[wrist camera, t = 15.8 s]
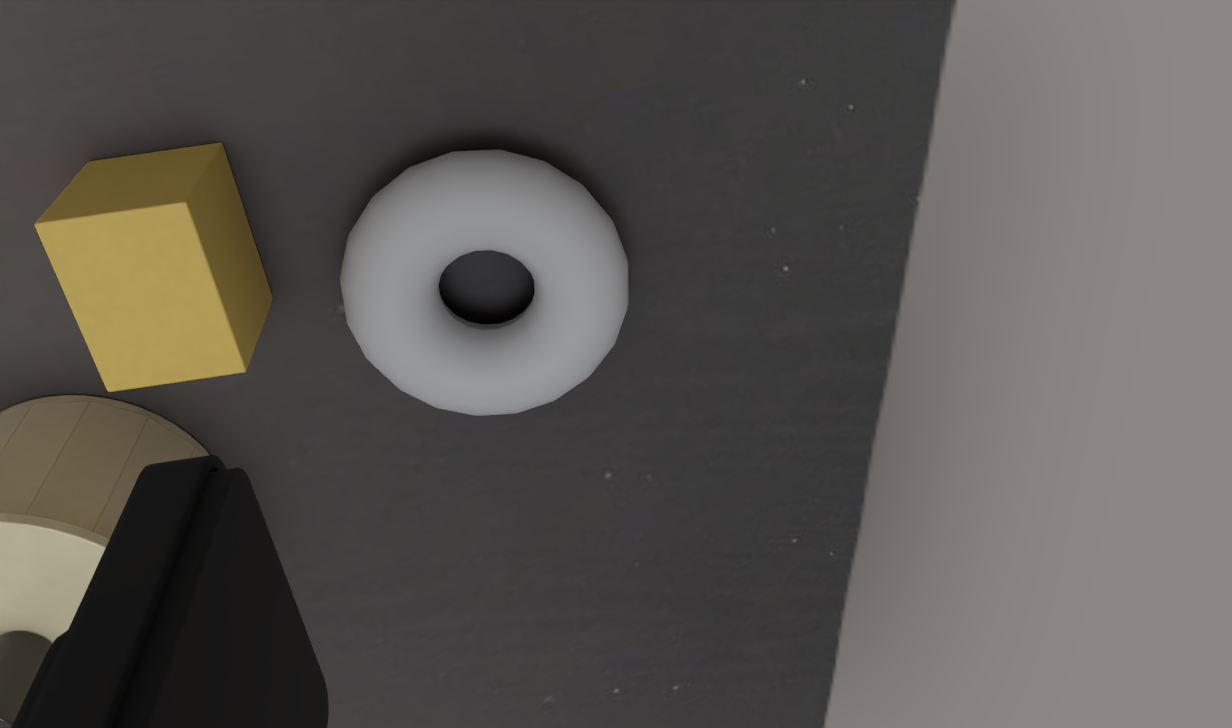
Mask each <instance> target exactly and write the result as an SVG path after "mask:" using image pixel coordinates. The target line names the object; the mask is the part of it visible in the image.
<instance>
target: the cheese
mask: <svg viewBox="0 0 1232 728" xmlns="http://www.w3.org/2000/svg"><path fill="white" fill-rule="evenodd" d="M35 227H36V230H37V232H38V234H39V236H40V239H41V241H42V243H43V246H44V248H45V250H46V252H47V255H48V257H49V259H50V261H51V264H52V266H53V268H54V271H55V273H56V275H57V277H58V280H59V282H60V284H61V287H62V289H63V291H64V293H65V296H66V298H67V300H68V302H69V305H70V307H71V309H72V312H73V314H74V316H75V318H76V321H77V323H78V325H79V327H80V330H81V332H82V334H83V337H84V339H85V341H86V343H87V346H88V348H89V350H90V352H91V355H92V357H93V359H94V362H95V364H96V366H97V368H98V371H99V373H100V375H101V378H102V380H103V382H104V384H105V387H106V389H107V391H108V392H113V391H120V390H127V389H134V388H141V387H148V386H154V385H161V384H168V383H175V382H182V381H188V380H195V379H202V378H209V377H216V376H222V375H229V374H236V373H243V372H246V370H247V368H248V365H249V362H250V359H251V357H252V354H253V351H254V349H255V346H256V343H257V341H258V338H259V335H260V333H261V330H262V327H263V324H264V322H265V319H266V316H267V314H268V311H269V308H270V306H271V303H272V300H273V297H272V294H271V291H270V288H269V285H268V282H267V279H266V275H265V272H264V269H263V266H262V263H261V260H260V257H259V254H258V251H257V248H256V245H255V242H254V239H253V235H252V232H251V229H250V226H249V223H248V220H247V217H246V214H245V211H244V208H243V205H242V202H241V199H240V195H239V192H238V189H237V186H236V183H235V180H234V177H233V174H232V171H231V168H230V165H229V162H228V159H227V155H226V152H225V149H224V146H223V144H222V143H213V144H206V145H199V146H192V147H185V148H178V149H171V150H164V151H157V152H151V153H144V154H137V155H130V156H123V157H116V158H109V159H102V160H95V161H89V162H87V163H86V165H85V166H84V167H83V168H82V169H81V170H80V172H79V173H78V174H77V175H76V176H75V177H74V179H73V180H72V181H71V182H70V183H69V184H68V186H67V187H66V188H65V189H64V190H63V191H62V193H61V194H60V195H59V196H58V197H57V198H56V199H55V201H54V202H53V203H52V204H51V205H50V206H49V208H48V209H47V210H46V211H45V212H44V213H43V215H42V216H41V217H40V218H39V219H38V220H37V222H36V223H35Z"/></svg>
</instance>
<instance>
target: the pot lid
mask: <svg viewBox="0 0 1232 728" xmlns="http://www.w3.org/2000/svg"><path fill="white" fill-rule="evenodd" d="M109 539H110V538H108V537H106V536H103V535H101V534H98V533H96V532H93V531H91V530H88V529H85V528H83V527H80V526H76V525H73V524H69V523H66V522H62V521H59V520H54V519H49V518H44V517H39V516H34V515H25V514H15V513H0V728H11V727H12V725H13V723H14V721H15V719H16V717H17V714H18V712H19V710H20V708H21V706H22V704H23V702H24V699H25V697H26V695H27V693H28V691H29V689H30V687H31V685H32V682H33V680H34V678H35V676H36V674H37V672H38V670H39V668H40V665H41V663H42V661H43V659H44V657H45V655H46V653H47V651H48V650H49V648H50V647H51V645H52V644H53V642H54V641H55V639H56V638H57V637H59V636H60V635H61V634H63V633H64V632H66V631H67V630H68V629H69V627H70V625H71V622H72V620H73V618H74V616H75V614H76V612H77V609H78V607H79V605H80V603H81V601H82V598H83V596H84V594H85V592H86V590H87V588H88V585H89V583H90V581H91V579H92V577H93V574H94V572H95V570H96V568H97V566H98V564H99V561H100V559H101V557H102V555H103V553H104V550H105V548H106V546H107V544H108V542H109Z"/></svg>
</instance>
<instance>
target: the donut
mask: <svg viewBox="0 0 1232 728" xmlns="http://www.w3.org/2000/svg"><path fill="white" fill-rule="evenodd" d="M481 250H493V251H497V252H502V253H506V254H508V255H510V256H512V257H514V258H515V259H517V260H519V261H520V262H521V263H522V264H523V265H524V266H525V267H526V268H527V269H528V270H529V271H530V272H531V274H532V276H533V279H534V289H535V294H534V297H533V300H532V301H531V303H530V304H529V305H528V307H527V308H526V309H525V311H524V312H522V313H521V314H519V315H518V316H517V317H515V318H514V319H512V320H509V321H506V322H503V323H500V324H478V323H474V322H469V321H466V320H464V319H462V318H460V317H458V316H456V315H455V314H454V313H453V312H452V311H451V310H450V309H449V308H448V307H447V306H446V305H445V304H444V302H443V300H442V298H441V296H440V293H439V281H440V277H441V274H442V272H443V271H444V269H445V268H446V267H447V265H449V264H450V263H451V262H453V261H454V260H455V259H456V258H458V257H459V256H462V255H464V254H467V253H470V252H473V251H481ZM340 284H341V290H342V296H343V302H344V308H345V314H346V320H347V324H348V326H349V328H350V330H351V331H352V333H353V335H354V337H355V339H356V340H357V342H358V344H359V346H360V348H361V349H362V351H363V353H364V355H365V357H366V358H367V359H368V360H369V361H370V362H371V363H372V364H373V365H374V366H375V367H376V368H377V369H378V370H379V371H380V372H381V373H383V374H384V375H385V376H386V377H387V378H388V379H389V380H390V381H391V382H392V383H393V384H394V385H395V386H396V387H398V388H399V389H400V390H402V391H404V392H406V393H408V394H410V395H412V396H414V397H416V398H418V399H420V400H422V401H424V402H426V403H428V404H430V405H432V406H434V407H436V408H440V409H445V410H450V411H455V412H460V413H465V414H470V415H475V416H480V415H497V414H513V413H519V412H522V411H525V410H528V409H531V408H534V407H537V406H540V405H543V404H546V403H549V402H552V401H555V400H556V399H557V398H559V397H560V396H562V395H563V394H565V393H566V392H568V391H569V390H571V389H572V388H573V387H575V386H576V385H578V384H579V383H581V382H582V381H584V380H585V379H586V378H588V377H589V376H590V375H591V374H592V373H593V371H594V370H595V369H596V368H597V366H598V365H599V364H600V362H601V361H602V360H603V359H604V357H605V356H606V355H607V354H608V352H609V351H610V350H611V348H612V347H613V346H614V345H615V342H616V339H617V336H618V334H619V331H620V328H621V325H622V322H623V319H624V316H625V314H626V311H627V308H628V260H627V257H626V254H625V252H624V249H623V246H622V244H621V241H620V238H619V236H618V233H617V230H616V228H615V225H614V222H613V221H612V219H611V218H610V217H609V215H608V214H607V213H606V212H605V211H604V210H603V208H602V207H601V206H600V205H599V204H598V202H597V201H596V200H595V199H594V198H593V196H592V195H591V194H590V193H589V192H588V190H587V189H586V188H585V187H584V186H583V185H582V184H581V183H579V182H577V181H576V180H574V179H573V178H571V177H569V176H568V175H566V174H565V173H563V172H561V171H560V170H558V169H556V168H555V167H553V166H552V165H550V164H548V163H547V162H545V161H542V160H538V159H534V158H530V157H527V156H523V155H519V154H515V153H511V152H507V151H503V150H477V151H456V152H450V153H447V154H444V155H442V156H439V157H436V158H433V159H431V160H428V161H425V162H423V163H420V164H417V165H414V166H412V167H409V168H408V169H406V170H405V171H404V172H403V173H401V174H400V175H399V176H398V177H396V178H395V179H394V180H392V181H391V182H390V183H389V184H387V185H386V186H385V187H384V188H382V189H381V190H380V191H379V192H377V193H376V194H375V195H374V196H373V197H372V199H371V200H370V202H369V203H368V205H367V206H366V208H365V210H364V211H363V213H362V214H361V216H360V218H359V219H358V221H357V222H356V224H355V226H354V227H353V229H352V230H351V232H350V234H349V235H348V239H347V243H346V248H345V253H344V258H343V263H342V268H341V273H340Z"/></svg>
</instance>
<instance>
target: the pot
mask: <svg viewBox="0 0 1232 728" xmlns="http://www.w3.org/2000/svg"><path fill="white" fill-rule="evenodd" d="M208 455H210V454H209V453H208V452H207V451H206V450H205V449H204V447H203V446H201V445H200V444H199V443H198V442H197V441H196V440H195V439H194V438H193V437H192V436H190V435H189V434H188V433H186V432H185V431H184V430H182V429H181V428H179V427H178V426H177V425H175V424H173V423H172V422H170V421H168V420H166V419H164V418H163V417H161V416H159V415H157V414H155V413H152V412H150V411H148V410H146V409H143V408H141V407H138V406H135V405H131V404H128V403H125V402H122V401H117V400H113V399H108V398H103V397H95V396H86V395H61V396H50V397H44V398H39V399H34V400H29V401H26V402H23V403H20V404H18V405H15V406H12V407H10V408H8V409H6V410H4V411H2V412H0V513H15V514H25V515H34V516H39V517H44V518H49V519H54V520H59V521H62V522H66V523H69V524H73V525H76V526H80V527H83V528H85V529H88V530H91V531H93V532H96V533H98V534H101V535H103V536H106V537H108V538H110V537H111V535H112V533H113V531H114V529H115V526H116V524H117V522H118V520H119V518H120V515H121V513H122V511H123V509H124V507H125V505H126V502H127V500H128V498H129V496H130V494H131V491H132V489H133V487H134V485H135V483H136V481H137V478H138V476H139V474H140V473H141V471H142V470H143V468H144V467H145V466H147V465H150V464H154V463H161V462H167V461H174V460H181V459H188V458H195V457H201V456H208Z"/></svg>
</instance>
